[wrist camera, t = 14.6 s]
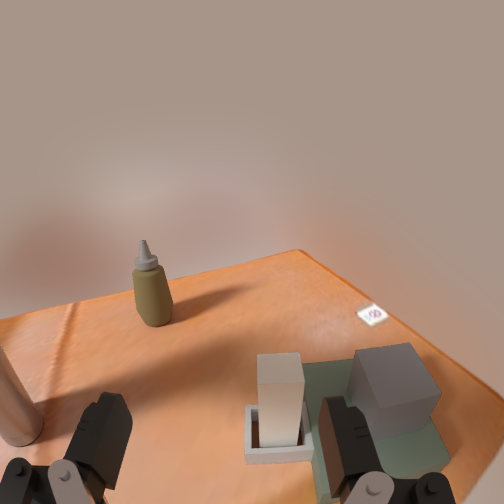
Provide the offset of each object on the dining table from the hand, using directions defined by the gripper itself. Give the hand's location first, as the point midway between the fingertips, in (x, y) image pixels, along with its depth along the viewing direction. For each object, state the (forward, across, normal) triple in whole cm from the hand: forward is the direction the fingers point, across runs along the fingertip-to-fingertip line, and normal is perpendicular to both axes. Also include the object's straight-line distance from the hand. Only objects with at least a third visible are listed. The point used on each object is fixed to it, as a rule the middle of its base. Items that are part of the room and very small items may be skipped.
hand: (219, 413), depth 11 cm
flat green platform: (+15, -12, +26) cm, 33 cm away
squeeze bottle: (+45, +19, +27) cm, 56 cm away
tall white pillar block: (+15, -4, +26) cm, 31 cm away
